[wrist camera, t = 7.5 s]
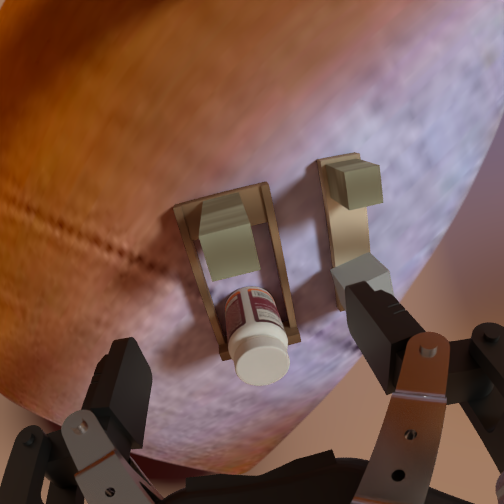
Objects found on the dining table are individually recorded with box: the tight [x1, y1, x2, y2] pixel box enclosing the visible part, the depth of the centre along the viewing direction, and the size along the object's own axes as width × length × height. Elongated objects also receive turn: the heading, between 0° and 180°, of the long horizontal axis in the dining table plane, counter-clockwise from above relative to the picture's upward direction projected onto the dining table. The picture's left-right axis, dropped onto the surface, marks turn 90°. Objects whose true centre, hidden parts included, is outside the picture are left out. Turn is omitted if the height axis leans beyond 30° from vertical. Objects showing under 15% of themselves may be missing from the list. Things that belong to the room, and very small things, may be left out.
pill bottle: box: [225, 286, 290, 386], centre depth 26 cm, size 5×5×8 cm
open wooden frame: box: [173, 182, 301, 361], centre depth 24 cm, size 14×8×9 cm, turn 13°
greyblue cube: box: [330, 252, 394, 311], centre depth 27 cm, size 4×4×4 cm
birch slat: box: [317, 152, 383, 312], centre depth 26 cm, size 14×4×5 cm, turn 13°
